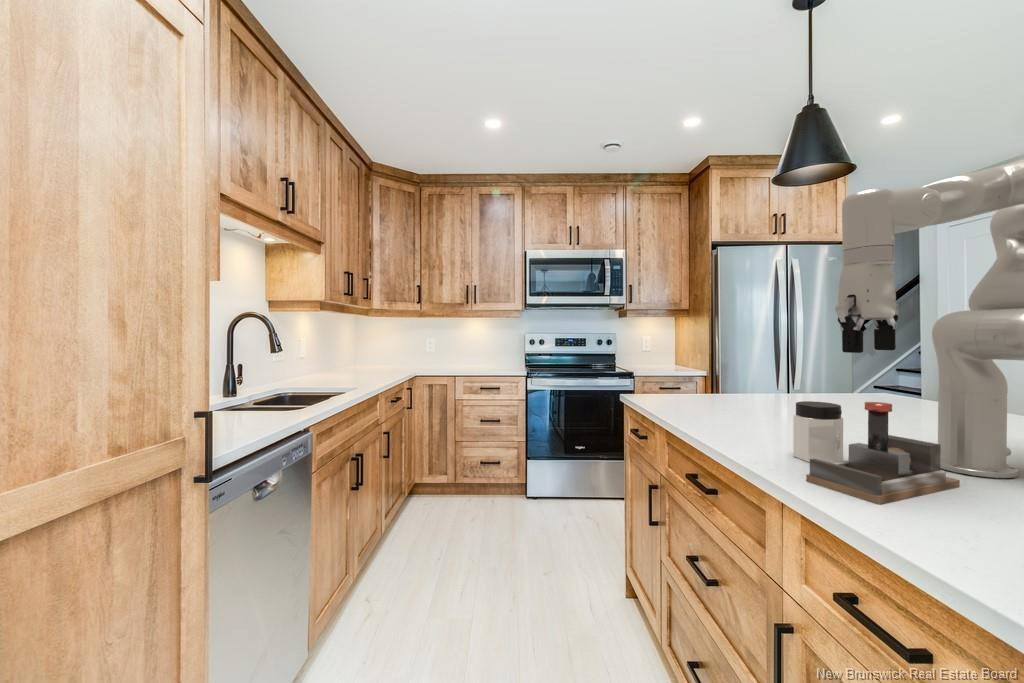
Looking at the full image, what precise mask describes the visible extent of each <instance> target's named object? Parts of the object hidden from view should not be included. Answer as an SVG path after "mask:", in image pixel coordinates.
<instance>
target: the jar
mask: <svg viewBox="0 0 1024 683" xmlns="http://www.w3.org/2000/svg"><path fill="white" fill-rule="evenodd" d="M842 414H843V412H842V406H841V404H837V403H832V402H825V401H813V400H812V401H811V400H809V401H807V400H806V401H804V400H803V401H797V402H795V413H794V414H793V417H792V418H793V424H792V426H793V431H792V432H793V439H792V441H793V446H792V449H793V452H792V453H793V457H795V458H796V459H799V460H802V461H805V462H807V463H810V459H818V460H822V461H826V462H829V463H836V462H842V461H844V418H843V417H842Z"/></svg>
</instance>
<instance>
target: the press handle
mask: <svg viewBox="0 0 1024 683" xmlns="http://www.w3.org/2000/svg"><path fill="white" fill-rule="evenodd" d="M864 410H865V411H867V444H866V443H863V442H857V443H849V444H848V460H849V468H852V469H856V470H860V471H863V472H867V473H871V474H875V475H878V476H882V480H884V481H888V480H893V479H898V478H903V477H909V465H910V454H909V453H905V452H900V451H895V450H891V449H888V435H889V413H891V412H893V404H892V403H890V402H883V401H882V402H881V401H864Z"/></svg>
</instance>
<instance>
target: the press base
mask: <svg viewBox="0 0 1024 683" xmlns="http://www.w3.org/2000/svg"><path fill="white" fill-rule="evenodd" d="M892 447H893V448H899V449H901V450H903V451H905V452H906V453H909V454H910V459H911V465H910V467H909V477H903V478H898V479H893V480H888V481H884V480H882V476H878V475H875V474H871V473H867V472H863V471H860V470H856V469H852V468H849V459H847V460H843V461H842V462H836V463H829V462H826V461H822V460H818V459H810V462H809V473H808V474H806V475H805V477H806V479H805V480H806V482H808V483H811V484H814V485H817V486H820V485H821V486H820V487H823V486H824V488H826V487H827V489H829V488H830V490H833V491H836V492H839V491H840V492H839V493H842V492H843V494H845V493H846V495H848V494H849V496H851V495H852V496H851V497H854V496H855V498H858V499H861V500H865V501H868V502H870V501H871V502H870V503H873V502H874V503H873V504H876V503H877V505H879V504H880V505H884V504H888V502H889V503H892V502H898V501H901V499H902V500H906V499H905V498H907V499H911V498H915V497H914V496H916V497H919V496H918V495H920V496H923V494H925V495H928V494H927V493H929V494H933V493H932V492H934V493H937V492H936V491H938V492H941V491H940V490H943V491H945V489H947V490H951V489H950V488H952V489H955V487H956V488H960V487H959V486H961V484H960V481H961V480H960V479H958V478H953V477H950V476H949V477H948V476H947V472H946V471H942V470H941V468H940V465H941V444H938V443H934V442H929V441H923V440H919V439H914V438H907V437H902V436H896V435H892V434H888V448H892ZM910 497H911V498H910ZM897 500H898V501H897ZM883 503H884V504H883Z"/></svg>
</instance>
